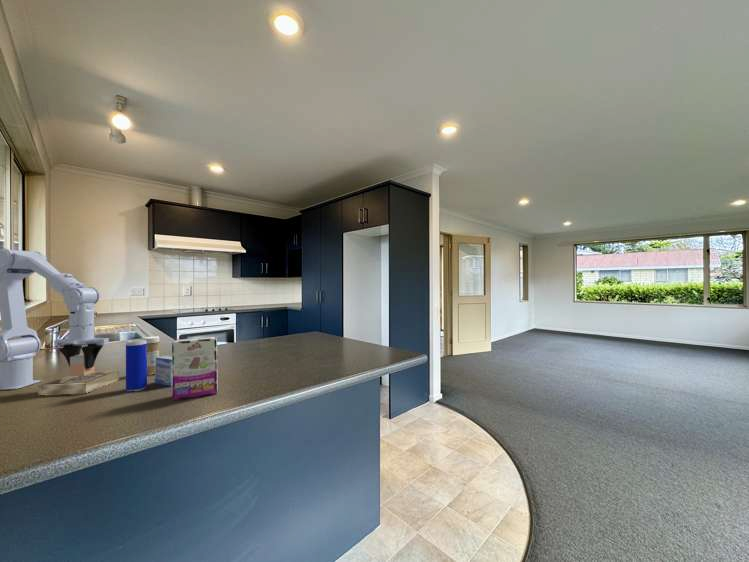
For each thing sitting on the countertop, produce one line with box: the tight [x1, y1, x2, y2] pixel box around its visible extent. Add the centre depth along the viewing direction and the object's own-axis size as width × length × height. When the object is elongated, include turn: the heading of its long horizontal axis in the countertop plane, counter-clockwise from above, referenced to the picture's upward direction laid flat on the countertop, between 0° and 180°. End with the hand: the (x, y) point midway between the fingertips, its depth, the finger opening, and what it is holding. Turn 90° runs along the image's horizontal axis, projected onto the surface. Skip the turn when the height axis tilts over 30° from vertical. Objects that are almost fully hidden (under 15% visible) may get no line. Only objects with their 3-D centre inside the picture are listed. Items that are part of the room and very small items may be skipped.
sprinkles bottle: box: [143, 335, 160, 376], centre depth 110 cm, size 5×5×14 cm
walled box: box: [37, 370, 120, 397], centre depth 96 cm, size 13×13×3 cm
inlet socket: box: [59, 375, 103, 384], centre depth 96 cm, size 7×7×2 cm
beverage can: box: [125, 339, 148, 393], centre depth 94 cm, size 5×5×15 cm
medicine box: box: [154, 354, 173, 387], centre depth 99 cm, size 8×4×9 cm, turn 68°
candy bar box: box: [171, 335, 219, 401], centre depth 89 cm, size 11×5×16 cm, turn 115°
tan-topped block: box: [69, 353, 96, 376], centre depth 96 cm, size 4×4×6 cm
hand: (81, 368), depth 96 cm, fingers closed on tan-topped block, 4 cm apart
